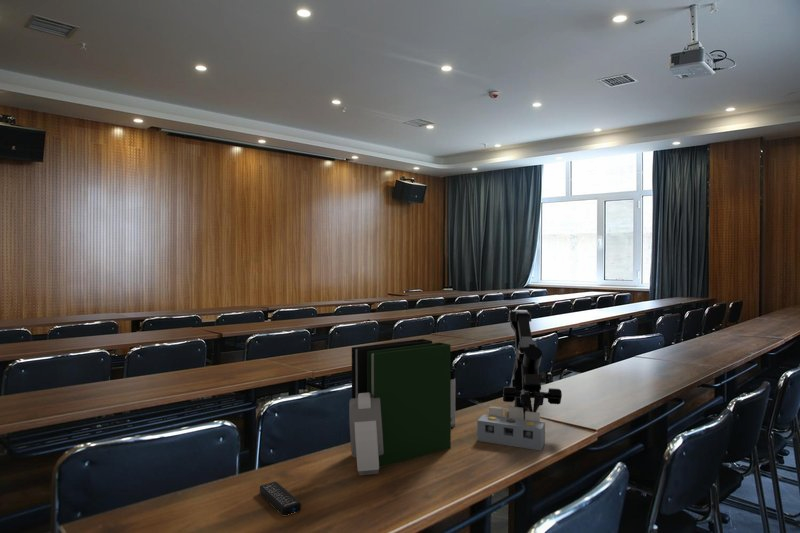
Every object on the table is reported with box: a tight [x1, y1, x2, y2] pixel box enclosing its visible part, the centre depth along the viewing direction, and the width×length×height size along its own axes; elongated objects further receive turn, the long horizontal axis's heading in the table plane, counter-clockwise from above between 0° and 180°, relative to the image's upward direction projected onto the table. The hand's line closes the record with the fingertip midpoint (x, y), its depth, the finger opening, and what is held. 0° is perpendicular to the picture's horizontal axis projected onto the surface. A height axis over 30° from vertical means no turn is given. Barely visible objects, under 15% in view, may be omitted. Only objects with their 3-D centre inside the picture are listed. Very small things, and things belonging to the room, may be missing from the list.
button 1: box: [487, 406, 504, 431], centre depth 162 cm, size 8×4×6 cm, turn 154°
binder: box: [351, 338, 452, 468], centre depth 151 cm, size 27×15×32 cm, turn 125°
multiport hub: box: [259, 481, 302, 516], centre depth 119 cm, size 4×14×2 cm, turn 37°
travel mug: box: [451, 367, 457, 428], centre depth 174 cm, size 6×7×20 cm
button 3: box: [524, 411, 541, 437], centre depth 156 cm, size 8×4×6 cm, turn 154°
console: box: [476, 414, 546, 451], centre depth 158 cm, size 7×20×7 cm, turn 64°
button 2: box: [508, 405, 524, 431], centre depth 162 cm, size 8×4×6 cm, turn 154°
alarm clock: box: [348, 393, 384, 476], centre depth 139 cm, size 18×8×20 cm, turn 4°
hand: (533, 418), depth 160 cm, fingers closed
